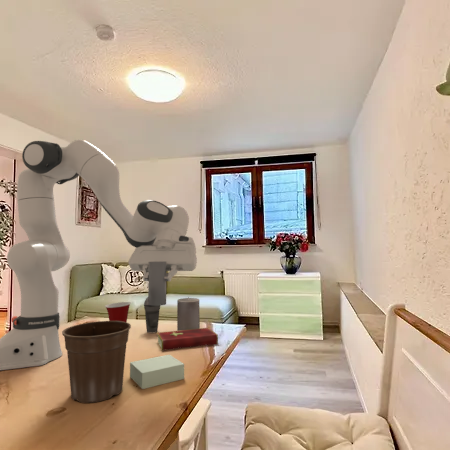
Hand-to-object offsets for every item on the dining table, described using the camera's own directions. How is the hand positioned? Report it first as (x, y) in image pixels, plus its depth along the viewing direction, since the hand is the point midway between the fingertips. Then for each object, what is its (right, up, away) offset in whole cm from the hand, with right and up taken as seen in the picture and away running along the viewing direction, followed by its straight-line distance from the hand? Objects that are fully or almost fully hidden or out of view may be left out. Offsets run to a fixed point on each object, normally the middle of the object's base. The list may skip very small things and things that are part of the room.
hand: (156, 279), depth 94 cm
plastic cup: (-28, -31, +52) cm, 67 cm away
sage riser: (0, -27, -1) cm, 27 cm away
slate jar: (0, -7, 0) cm, 7 cm away
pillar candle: (+4, -31, +50) cm, 59 cm away
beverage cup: (-12, -31, +50) cm, 60 cm away
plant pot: (-13, -27, -11) cm, 32 cm away
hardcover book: (+5, -30, +33) cm, 45 cm away
